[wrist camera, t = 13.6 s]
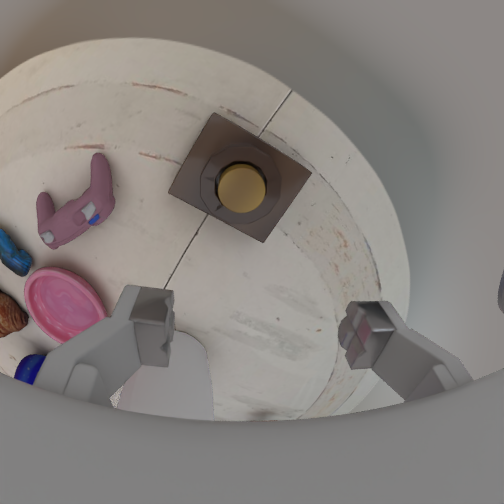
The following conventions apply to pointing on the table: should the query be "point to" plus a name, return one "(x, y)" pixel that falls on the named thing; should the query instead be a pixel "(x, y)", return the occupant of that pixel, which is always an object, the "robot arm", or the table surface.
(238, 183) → the button
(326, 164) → the table surface
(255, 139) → the button block
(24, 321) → the pastry
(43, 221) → the video game controller
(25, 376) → the ornament
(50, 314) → the saucer
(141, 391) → the bottle
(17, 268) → the figurine
